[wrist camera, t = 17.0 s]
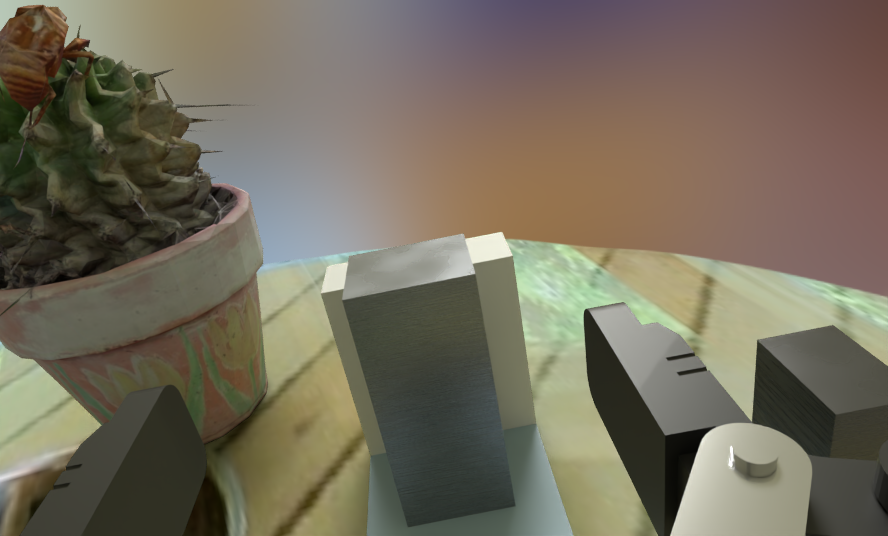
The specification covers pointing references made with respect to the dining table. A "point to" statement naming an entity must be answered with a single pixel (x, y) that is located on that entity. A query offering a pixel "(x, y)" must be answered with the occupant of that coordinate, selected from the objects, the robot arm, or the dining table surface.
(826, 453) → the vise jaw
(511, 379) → the vise
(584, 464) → the dining table surface
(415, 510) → the steel block
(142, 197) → the potted plant
